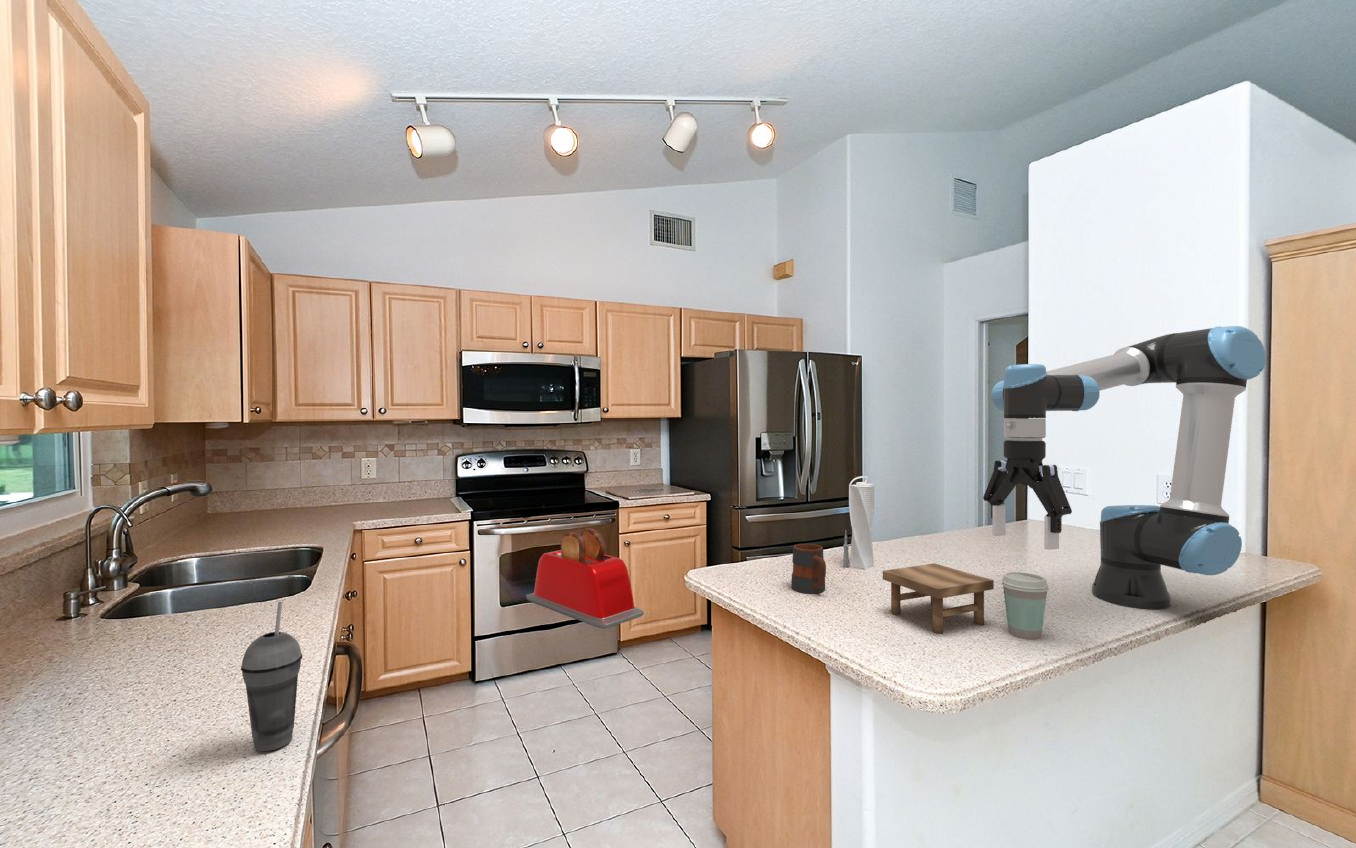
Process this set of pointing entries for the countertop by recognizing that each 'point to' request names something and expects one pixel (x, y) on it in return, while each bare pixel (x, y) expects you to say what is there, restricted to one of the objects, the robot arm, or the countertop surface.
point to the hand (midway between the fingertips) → (1023, 542)
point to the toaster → (585, 582)
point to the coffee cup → (1025, 603)
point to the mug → (808, 569)
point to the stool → (938, 590)
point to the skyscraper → (860, 525)
